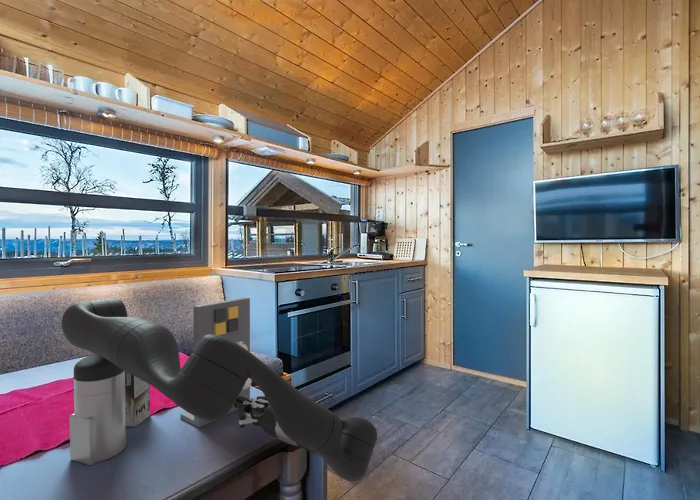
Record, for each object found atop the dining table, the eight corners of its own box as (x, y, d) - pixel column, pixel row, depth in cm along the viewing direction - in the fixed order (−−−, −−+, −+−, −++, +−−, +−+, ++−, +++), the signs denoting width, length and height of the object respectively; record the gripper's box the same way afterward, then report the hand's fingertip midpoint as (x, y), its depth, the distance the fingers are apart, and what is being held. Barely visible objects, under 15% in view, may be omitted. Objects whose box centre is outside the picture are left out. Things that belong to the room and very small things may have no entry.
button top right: (247, 356, 102) (247, 342, 102) (235, 360, 99) (235, 345, 99) (238, 354, 105) (238, 340, 105) (226, 357, 101) (226, 343, 101)
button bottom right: (251, 386, 102) (251, 372, 102) (240, 391, 99) (239, 376, 98) (242, 383, 104) (242, 369, 104) (230, 388, 101) (230, 373, 101)
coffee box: (151, 415, 98) (150, 354, 97) (134, 427, 91) (134, 363, 91) (119, 413, 99) (118, 353, 98) (100, 425, 92) (99, 361, 92)
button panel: (251, 404, 104) (251, 298, 103) (200, 428, 91) (199, 307, 90) (231, 396, 109) (231, 295, 108) (180, 418, 96) (179, 303, 95)
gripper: (309, 393, 84) (257, 376, 94) (266, 417, 73) (212, 395, 83) (309, 426, 85) (257, 405, 94) (266, 454, 74) (212, 428, 83)
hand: (236, 400), depth 89 cm, fingers closed
